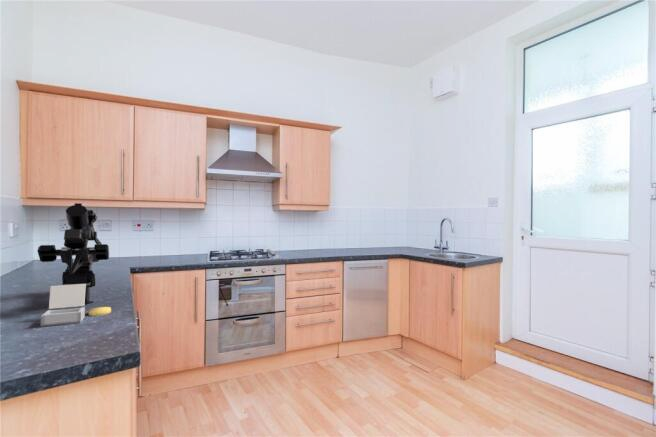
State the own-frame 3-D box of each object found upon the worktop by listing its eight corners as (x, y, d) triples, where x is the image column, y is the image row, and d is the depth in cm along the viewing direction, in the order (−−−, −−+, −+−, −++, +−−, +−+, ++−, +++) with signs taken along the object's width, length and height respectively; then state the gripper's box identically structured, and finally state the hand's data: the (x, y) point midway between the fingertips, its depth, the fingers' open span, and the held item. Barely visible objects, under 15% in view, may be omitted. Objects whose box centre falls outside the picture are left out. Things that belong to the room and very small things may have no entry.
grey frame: (47, 320, 98) (47, 309, 98) (84, 316, 103) (84, 306, 103) (40, 327, 92) (41, 315, 92) (80, 322, 96) (80, 311, 96)
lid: (48, 308, 98) (49, 308, 99) (84, 305, 103) (84, 305, 103) (50, 285, 100) (51, 286, 101) (85, 283, 104) (85, 283, 105)
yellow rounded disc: (97, 311, 110) (97, 306, 110) (115, 311, 110) (115, 307, 110) (83, 316, 104) (83, 311, 104) (102, 316, 104) (102, 311, 104)
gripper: (39, 220, 106) (27, 258, 96) (109, 221, 115) (104, 255, 105) (45, 243, 113) (35, 280, 103) (110, 242, 122) (106, 276, 112)
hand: (71, 272), depth 105 cm, fingers closed
